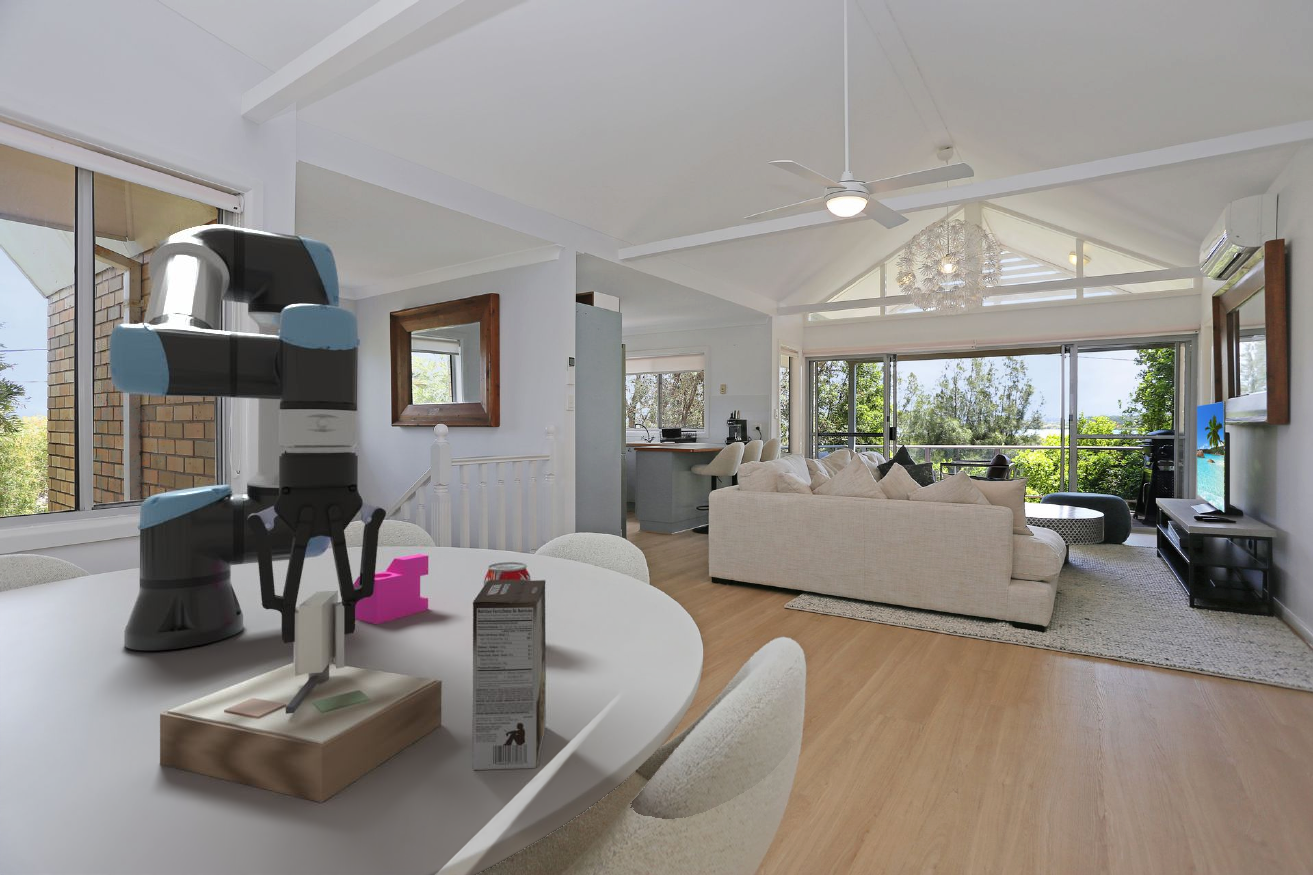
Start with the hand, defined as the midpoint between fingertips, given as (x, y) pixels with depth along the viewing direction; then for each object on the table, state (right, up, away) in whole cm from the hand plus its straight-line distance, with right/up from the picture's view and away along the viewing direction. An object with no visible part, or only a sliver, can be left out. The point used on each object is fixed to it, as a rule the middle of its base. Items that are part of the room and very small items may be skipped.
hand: (318, 667), depth 69 cm
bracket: (-13, -7, +46) cm, 48 cm away
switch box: (+1, -7, -3) cm, 7 cm away
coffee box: (+22, -7, -4) cm, 23 cm away
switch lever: (+1, -1, -3) cm, 3 cm away
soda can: (+14, -7, +28) cm, 32 cm away
